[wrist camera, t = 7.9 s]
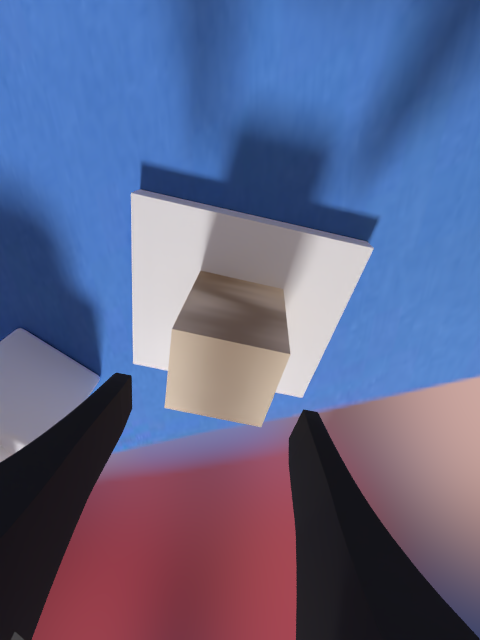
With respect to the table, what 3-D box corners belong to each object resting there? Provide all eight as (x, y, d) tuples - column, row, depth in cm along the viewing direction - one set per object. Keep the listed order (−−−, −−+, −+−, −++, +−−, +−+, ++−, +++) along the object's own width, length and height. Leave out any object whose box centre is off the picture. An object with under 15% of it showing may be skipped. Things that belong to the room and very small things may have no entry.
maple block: (191, 337, 19) (164, 407, 14) (200, 270, 17) (171, 329, 12) (262, 352, 20) (261, 427, 14) (283, 289, 17) (290, 354, 12)
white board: (139, 353, 22) (133, 363, 21) (139, 189, 15) (130, 192, 14) (300, 386, 23) (302, 397, 22) (367, 241, 16) (373, 248, 15)
